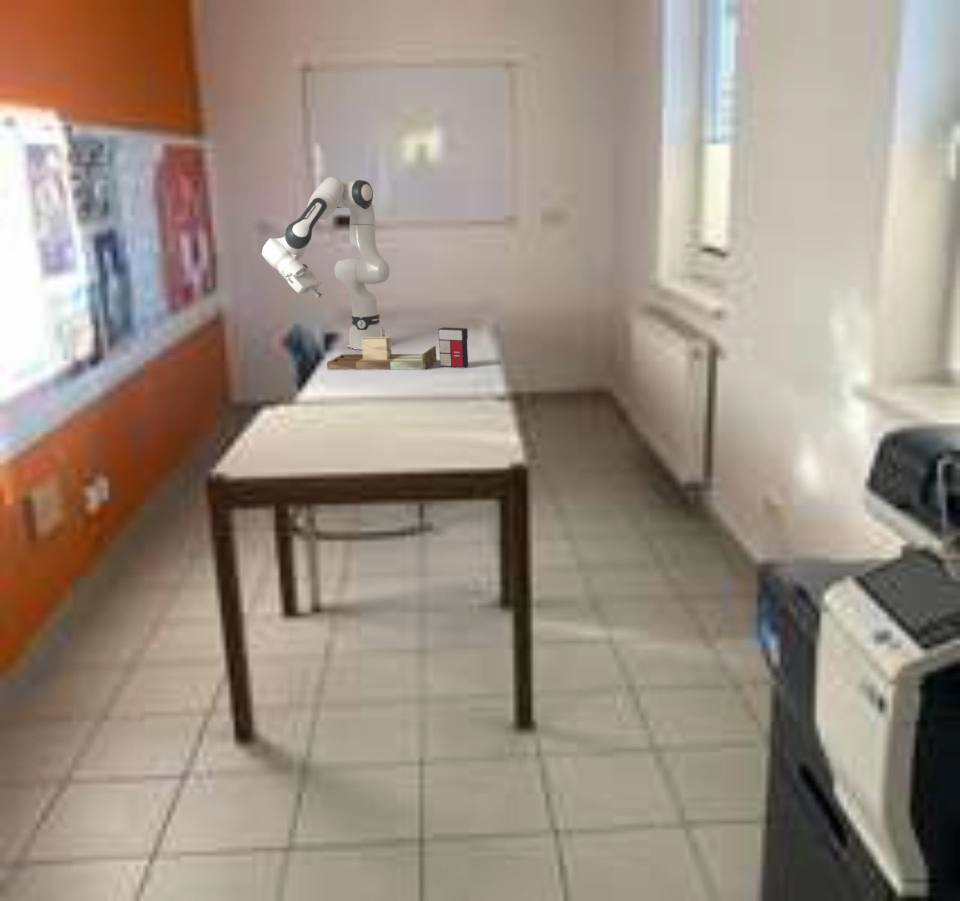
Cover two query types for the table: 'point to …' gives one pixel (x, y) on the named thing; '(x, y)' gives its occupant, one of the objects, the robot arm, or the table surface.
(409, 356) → the box
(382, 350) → the block
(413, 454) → the table surface
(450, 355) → the toy cabinet
